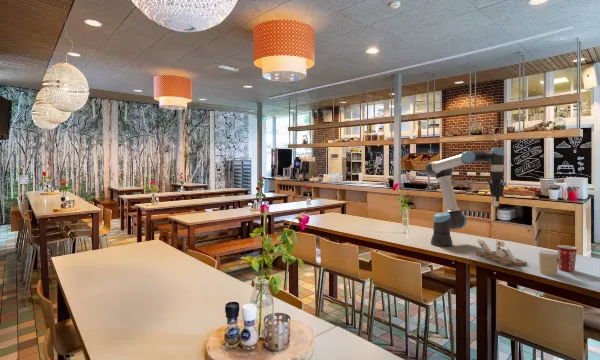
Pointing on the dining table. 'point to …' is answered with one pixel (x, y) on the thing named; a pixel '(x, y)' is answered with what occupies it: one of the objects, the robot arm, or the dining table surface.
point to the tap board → (500, 259)
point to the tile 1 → (484, 246)
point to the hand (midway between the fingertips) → (495, 206)
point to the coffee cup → (548, 262)
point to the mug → (567, 258)
